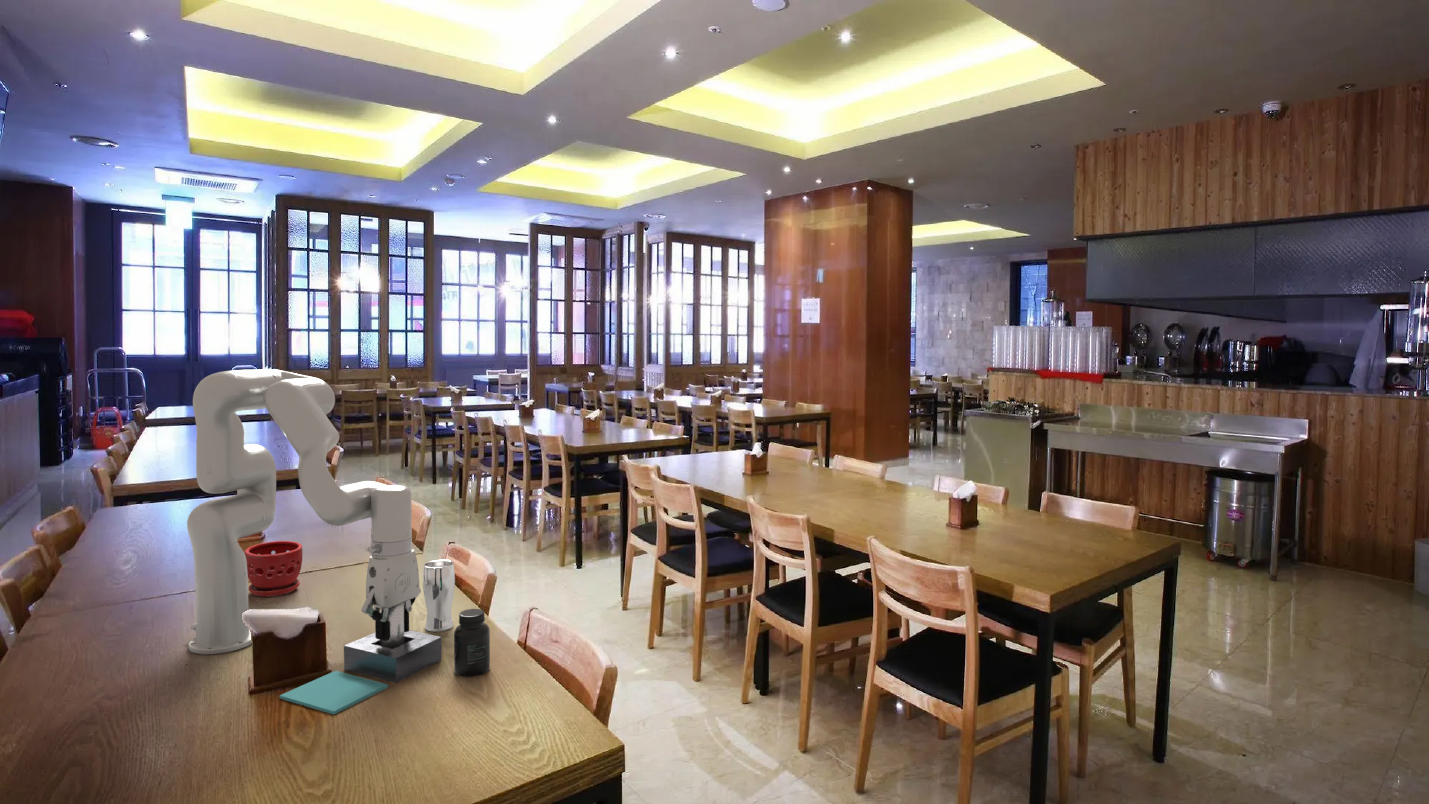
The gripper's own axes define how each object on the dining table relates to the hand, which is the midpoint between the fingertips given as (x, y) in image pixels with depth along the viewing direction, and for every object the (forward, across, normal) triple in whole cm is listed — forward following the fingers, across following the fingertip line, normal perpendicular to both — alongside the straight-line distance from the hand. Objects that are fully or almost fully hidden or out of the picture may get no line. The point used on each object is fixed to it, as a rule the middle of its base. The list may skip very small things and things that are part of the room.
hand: (392, 634), depth 156 cm
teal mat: (+6, -14, 0) cm, 15 cm away
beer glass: (+7, +20, +7) cm, 22 cm away
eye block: (+6, 0, 0) cm, 6 cm away
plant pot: (+7, +20, +63) cm, 66 cm away
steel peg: (+6, 0, 0) cm, 6 cm away
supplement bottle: (+7, +5, -16) cm, 18 cm away
